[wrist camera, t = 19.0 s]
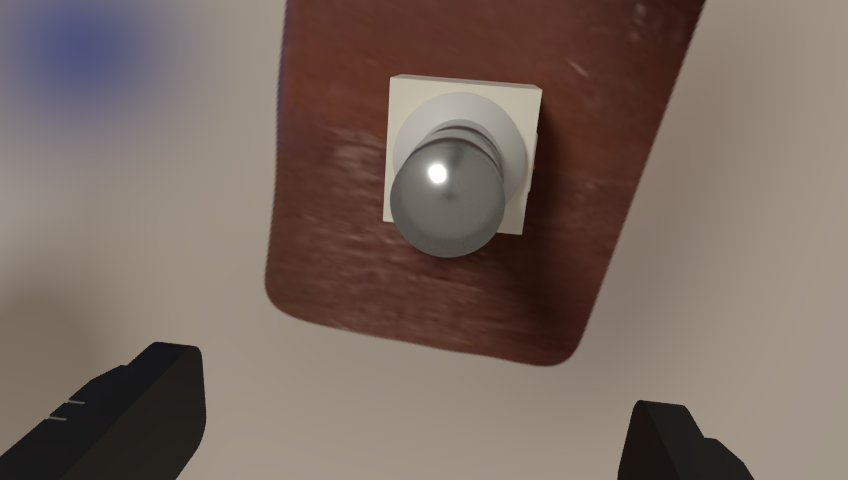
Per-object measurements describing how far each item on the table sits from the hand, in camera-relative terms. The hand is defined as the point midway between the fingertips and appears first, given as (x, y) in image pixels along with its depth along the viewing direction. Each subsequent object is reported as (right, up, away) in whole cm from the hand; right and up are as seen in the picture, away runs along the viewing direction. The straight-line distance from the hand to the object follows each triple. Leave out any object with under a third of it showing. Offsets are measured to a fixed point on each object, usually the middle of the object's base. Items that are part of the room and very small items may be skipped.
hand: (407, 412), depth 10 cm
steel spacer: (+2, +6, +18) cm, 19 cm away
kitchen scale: (+3, +10, +28) cm, 30 cm away
